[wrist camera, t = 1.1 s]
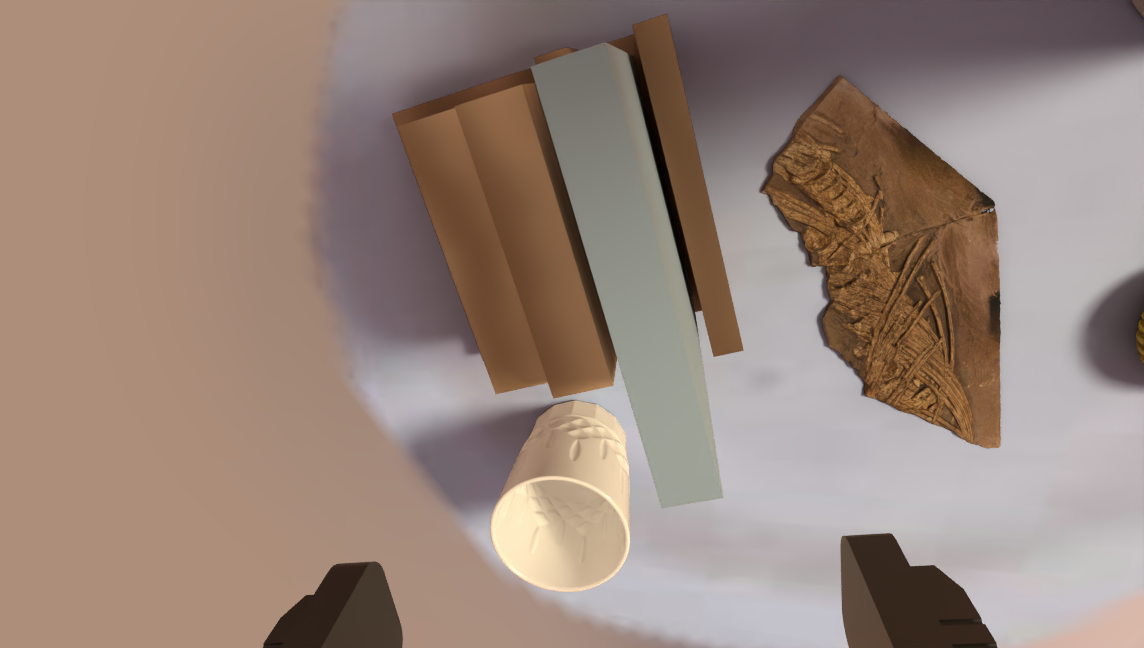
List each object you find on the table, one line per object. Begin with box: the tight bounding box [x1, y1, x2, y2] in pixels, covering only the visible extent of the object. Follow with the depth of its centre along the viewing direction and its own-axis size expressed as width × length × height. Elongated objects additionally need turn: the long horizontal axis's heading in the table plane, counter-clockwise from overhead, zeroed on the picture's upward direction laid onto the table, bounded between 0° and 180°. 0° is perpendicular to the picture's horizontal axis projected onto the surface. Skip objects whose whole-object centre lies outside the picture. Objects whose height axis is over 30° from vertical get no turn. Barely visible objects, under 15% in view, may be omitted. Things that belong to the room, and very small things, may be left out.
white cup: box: [490, 400, 630, 592], centre depth 41 cm, size 8×8×10 cm
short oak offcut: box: [397, 108, 548, 394], centre depth 36 cm, size 3×14×8 cm, turn 17°
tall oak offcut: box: [454, 83, 617, 398], centre depth 34 cm, size 3×14×10 cm, turn 17°
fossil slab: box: [763, 75, 1001, 448], centre depth 39 cm, size 26×11×1 cm, turn 28°
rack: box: [392, 14, 743, 359], centre depth 36 cm, size 16×16×8 cm
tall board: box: [531, 42, 723, 508], centre depth 28 cm, size 2×14×20 cm, turn 17°
